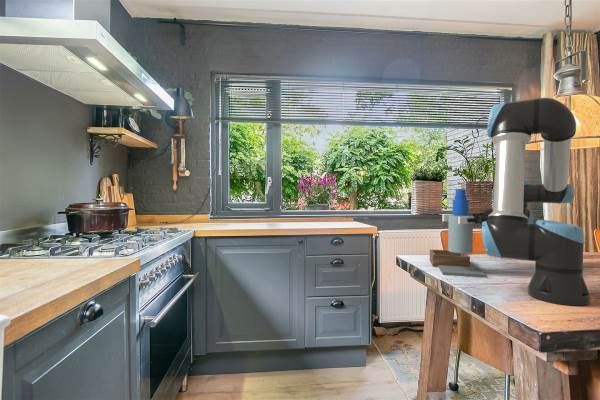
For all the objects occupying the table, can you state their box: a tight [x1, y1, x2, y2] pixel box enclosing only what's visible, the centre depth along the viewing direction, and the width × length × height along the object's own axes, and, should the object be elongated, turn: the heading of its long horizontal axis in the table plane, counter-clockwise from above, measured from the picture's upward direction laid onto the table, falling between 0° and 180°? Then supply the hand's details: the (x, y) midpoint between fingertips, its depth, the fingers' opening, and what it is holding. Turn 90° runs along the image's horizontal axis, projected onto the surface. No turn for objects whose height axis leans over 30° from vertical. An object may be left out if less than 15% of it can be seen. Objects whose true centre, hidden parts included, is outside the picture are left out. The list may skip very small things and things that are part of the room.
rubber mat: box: [438, 265, 487, 278], centre depth 138 cm, size 13×15×1 cm
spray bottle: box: [447, 188, 474, 254], centre depth 138 cm, size 9×9×25 cm
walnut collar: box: [429, 249, 471, 268], centre depth 153 cm, size 14×14×5 cm
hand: (450, 219), depth 137 cm, fingers closed on spray bottle, 9 cm apart
